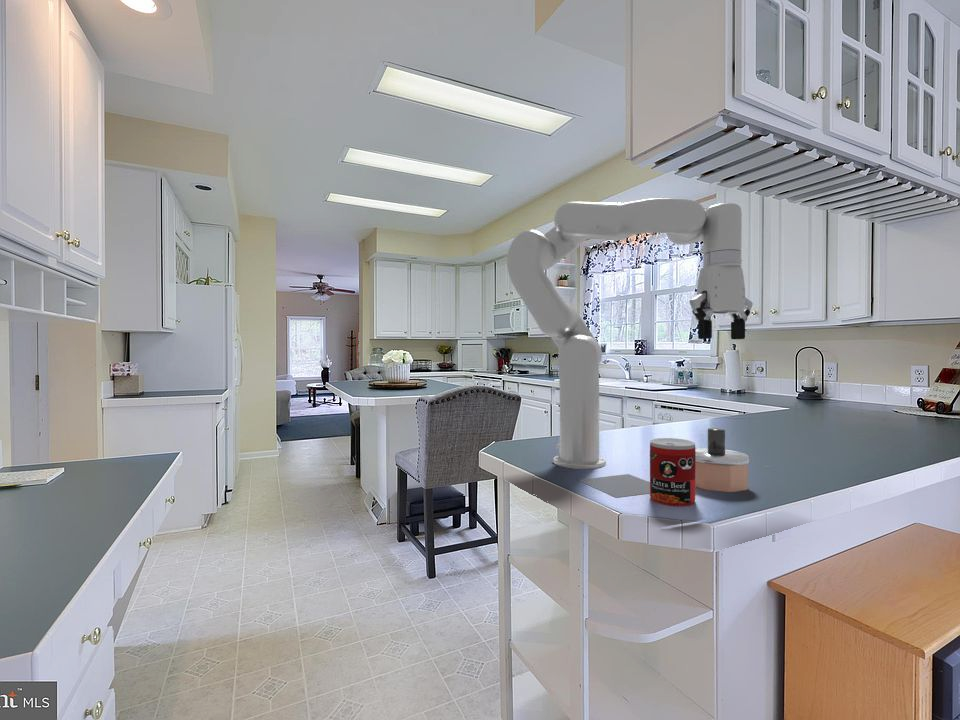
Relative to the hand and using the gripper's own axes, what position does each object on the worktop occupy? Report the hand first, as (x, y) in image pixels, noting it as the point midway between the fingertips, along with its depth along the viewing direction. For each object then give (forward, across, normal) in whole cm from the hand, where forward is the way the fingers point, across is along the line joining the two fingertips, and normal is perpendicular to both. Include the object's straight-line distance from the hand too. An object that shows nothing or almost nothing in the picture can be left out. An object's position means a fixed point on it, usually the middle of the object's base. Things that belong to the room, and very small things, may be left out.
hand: (721, 338), depth 103 cm
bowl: (+30, +8, +6) cm, 32 cm away
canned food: (+31, +24, +11) cm, 40 cm away
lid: (+25, +8, +6) cm, 27 cm away
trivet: (+30, +26, 0) cm, 40 cm away
